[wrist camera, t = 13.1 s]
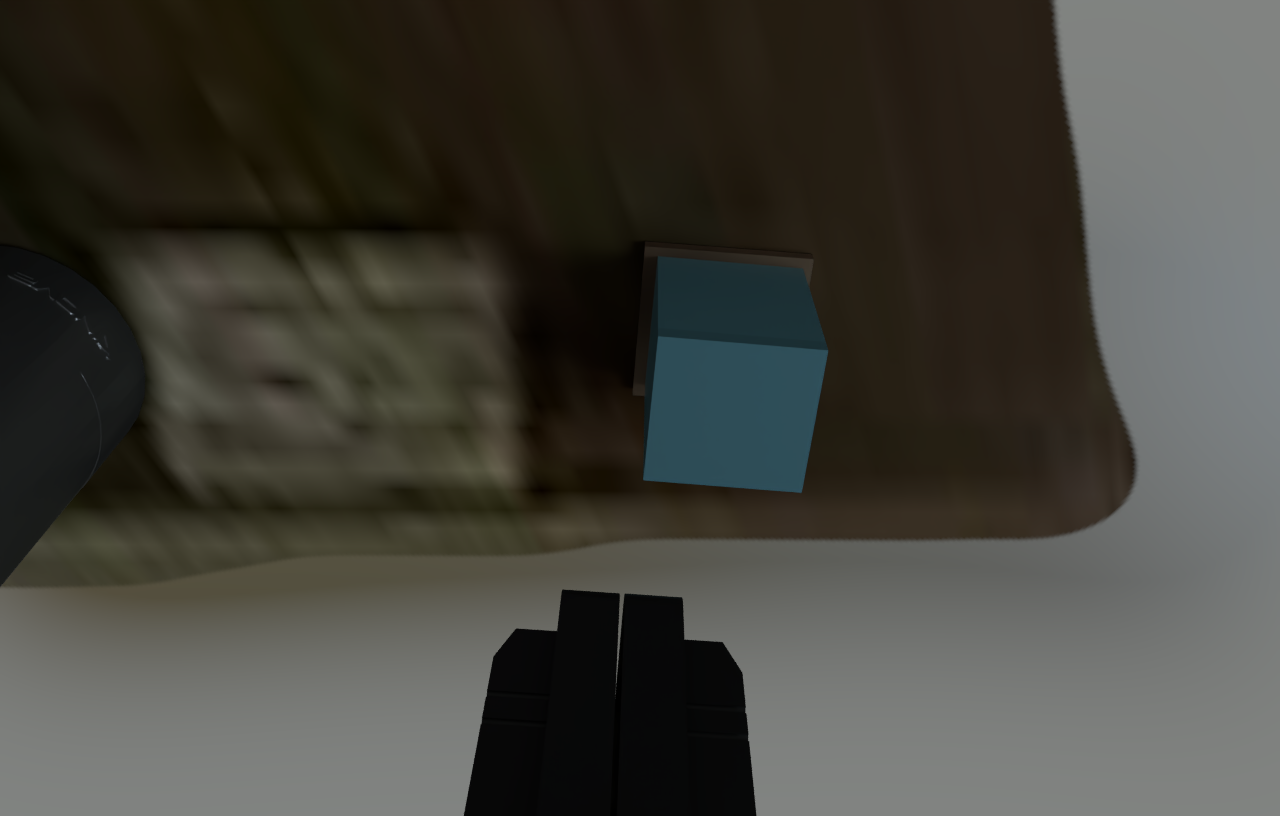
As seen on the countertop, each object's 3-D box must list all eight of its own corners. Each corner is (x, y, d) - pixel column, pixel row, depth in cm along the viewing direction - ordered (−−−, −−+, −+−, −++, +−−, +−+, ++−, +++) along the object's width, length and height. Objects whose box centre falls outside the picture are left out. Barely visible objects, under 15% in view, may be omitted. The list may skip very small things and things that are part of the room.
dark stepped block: (788, 400, 43) (808, 493, 37) (632, 388, 43) (629, 481, 37) (811, 254, 40) (837, 331, 34) (645, 241, 40) (643, 316, 34)
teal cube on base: (781, 396, 42) (801, 492, 36) (645, 385, 42) (643, 480, 36) (803, 268, 40) (828, 350, 34) (657, 256, 40) (658, 336, 34)
